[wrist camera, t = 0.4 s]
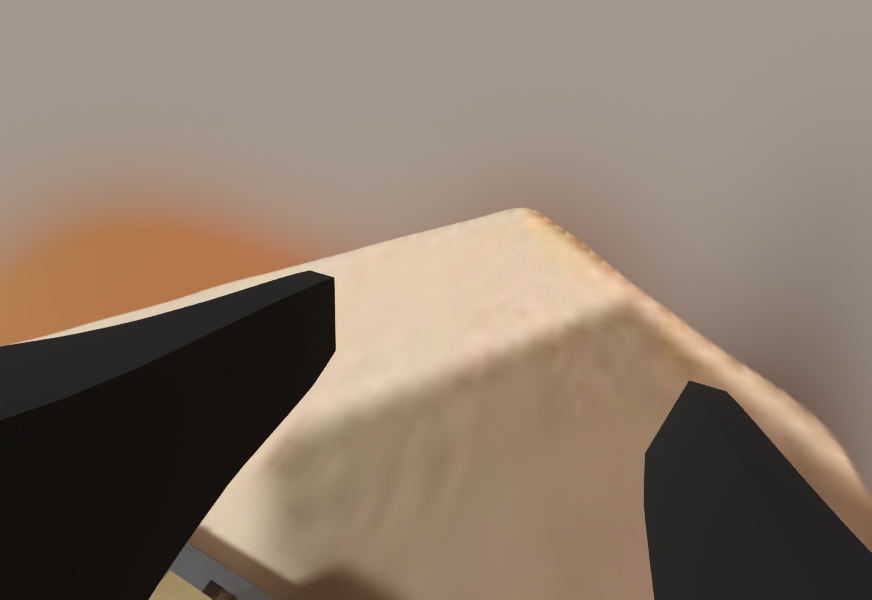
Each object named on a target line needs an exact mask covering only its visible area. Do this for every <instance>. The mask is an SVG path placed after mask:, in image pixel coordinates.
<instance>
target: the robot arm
mask: <svg viewBox="0 0 872 600" xmlns="http://www.w3.org/2000/svg"><path fill="white" fill-rule="evenodd" d="M335 351H336V338H335V285H334V277H331V276H327V275H324V274H320V273H317V272H313V271H305V272H301V273H297V274H293V275H289V276H286V277H282V278H279V279H276V280H273V281H269V282H266V283H263V284H260V285H257V286H254V287H250V288H247V289H244V290H241V291H238V292H234V293H231V294H228V295H225V296H222V297H218V298H215V299H212V300H209V301H205V302H202V303H198V304H195V305H191V306H188V307H184V308H180V309H177V310H173V311H170V312H166V313H163V314H159V315H156V316H152V317H148V318H144V319H140V320H136V321H132V322H128V323H124V324H120V325H115V326H111V327H106V328H101V329H97V330H92V331H87V332H82V333H78V334H73V335H67V336H62V337H56V338H50V339H44V340H38V341H32V342H26V343H19V344H13V345H7V346H1V347H0V600H149V598H150V597H151V595H152V594H153V592H154V591H155V589H156V587H157V586H158V584H159V583H160V581H161V580H162V578H163V577H164V575H165V574H166V572H167V571H168V569H169V568H170V566H171V565H172V564H173V562H174V561H175V559H176V558H177V556H178V555H179V553H180V552H181V550H182V549H183V547H184V546H185V544H186V543H187V542H188V540H189V539H190V537H191V536H192V534H193V533H194V531H195V530H196V528H197V527H198V526H199V524H200V523H201V521H202V520H203V519H204V517H205V516H206V515H207V513H208V512H209V510H210V509H211V508H212V506H213V505H214V503H215V502H216V501H217V499H218V498H219V496H220V495H221V494H222V492H223V491H224V489H225V488H226V487H227V485H228V484H229V483H230V482H231V480H232V479H233V478H234V477H235V476H236V474H237V473H238V472H239V471H240V469H241V468H242V467H243V466H244V465H245V463H246V462H247V461H248V460H249V459H250V458H251V457H252V455H253V454H254V453H255V452H256V451H257V450H258V449H259V447H260V446H261V445H262V444H263V443H264V442H265V441H266V439H267V438H268V437H269V436H270V435H271V434H272V433H273V431H274V430H275V429H276V428H277V427H278V426H279V425H280V423H281V422H282V421H283V420H284V419H285V418H286V417H287V415H288V414H289V413H290V412H291V411H292V410H293V408H294V407H295V406H296V405H297V404H298V403H299V401H300V400H301V399H302V398H303V397H304V396H305V394H306V393H307V392H308V391H309V390H310V388H311V387H312V386H313V385H314V383H315V382H316V380H317V379H318V377H319V376H320V374H321V373H322V371H323V370H324V368H325V367H326V365H327V363H328V362H329V360H330V359H331V357H332V356H333V354H334V352H335ZM644 511H645V521H646V530H647V540H648V549H649V557H650V566H651V574H652V583H653V592H654V600H872V553H871V552H870V551H869V550H868V549H867V548H866V547H865V545H864V544H863V543H862V542H861V541H860V540H859V539H858V538H857V537H856V536H855V535H854V534H853V533H852V532H851V530H850V529H849V528H848V527H847V526H846V525H845V524H844V523H843V522H842V521H841V520H840V519H839V517H838V516H837V515H836V514H835V513H834V512H833V511H832V510H831V509H830V508H829V506H828V505H827V504H826V503H825V502H824V501H823V500H822V499H821V498H820V496H819V495H818V494H817V493H816V492H815V491H814V490H813V489H812V487H811V486H810V485H809V484H808V483H807V482H806V481H805V479H804V478H803V477H802V476H801V475H800V474H799V473H798V471H797V470H796V469H795V468H794V467H793V466H792V465H791V463H790V462H789V461H788V460H787V459H786V458H785V457H784V455H783V454H782V453H781V452H780V451H779V450H778V448H777V447H776V446H775V445H774V444H773V443H772V442H771V440H770V439H769V438H768V437H767V436H766V435H765V433H764V432H763V431H762V430H761V429H760V428H759V427H758V425H757V424H756V423H755V422H754V421H753V420H752V419H751V417H750V416H749V415H748V414H747V413H746V412H745V411H744V410H743V408H742V407H741V406H740V405H739V404H738V403H737V402H736V401H735V400H734V399H733V398H732V397H731V396H730V395H729V394H728V393H727V392H726V391H723V390H720V389H716V388H713V387H709V386H706V385H703V384H699V383H696V382H692V381H689V382H688V383H687V385H686V387H685V388H684V390H683V392H682V393H681V395H680V396H679V398H678V400H677V401H676V403H675V405H674V406H673V408H672V410H671V411H670V413H669V415H668V416H667V418H666V420H665V421H664V423H663V425H662V426H661V428H660V430H659V431H658V433H657V435H656V436H655V438H654V439H653V441H652V443H651V444H650V446H649V448H648V449H647V451H646V453H645V470H644Z"/></svg>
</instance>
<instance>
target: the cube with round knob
mask: <svg viewBox="0 0 872 600" xmlns="http://www.w3.org/2000/svg"><path fill="white" fill-rule="evenodd" d="M149 600H213V599H211V598H210V597H208V596H207V595H205V594H204V593H202V592H201V591H199V590H198V589H197V588H195V587H194V586H192V585H191V584H189V583H188V582H186V581H185V580H184V579H182V578H181V577H179V576H178V575H176V574H175V573H173V572H172V571H169V572H168V573H167V574H166V576H165V577H164V578H163V579H162V580H161V582H160V583H159V584H158V586H157V587H156V589H155V591H154V592H153V594H152V595H151V597H150V598H149Z"/></svg>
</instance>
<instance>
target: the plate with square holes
mask: <svg viewBox="0 0 872 600" xmlns="http://www.w3.org/2000/svg"><path fill="white" fill-rule="evenodd" d="M169 571H172V572H173V573H175V574H176V575H178V576H179V577H181V578H182V579H184V580H185V581H186V582H188V583H189V584H191V585H192V586H194V587H195V588H197V589H198V590H199V591H201V592H202V593H204V594H205V595H207V596H208V597H210V598H211V599H213V600H214V599H215V597H216V596H217V595H218V593H219V592H220V591H221V589H222V590H224V591H225V592H227V593H228V594H230V595H231V596H233V597H234V598H236V599H237V600H276V599H274V598H273V597H271V596H270V595H268V594H267V593H265V592H264V591H262V590H260V589H259V588H257V587H256V586H254V585H253V584H251V583H249V582H248V581H246V580H245V579H243V578H242V577H240V576H239V575H237V574H235V573H234V572H232V571H231V570H229V569H228V568H226V567H225V566H223V565H221V564H220V563H218V562H217V561H215V560H214V559H212V558H210V557H209V556H207V555H206V554H204V553H203V552H201V551H200V550H198V549H196V548H195V547H193V546H192V545H190V544H189V543H186V544H185V546H184V547H183V549H182V550H181V552H180V553H179V555H178V556H177V558H176V559H175V561H174V562H173V564H172V565H171V566H170V568H169V569H168V571H167V572H166V574H167V573H168V572H169ZM166 574H165V575H164V577H165V576H166ZM164 577H163V578H164ZM163 578H162V579H163ZM160 582H161V581H160Z"/></svg>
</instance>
